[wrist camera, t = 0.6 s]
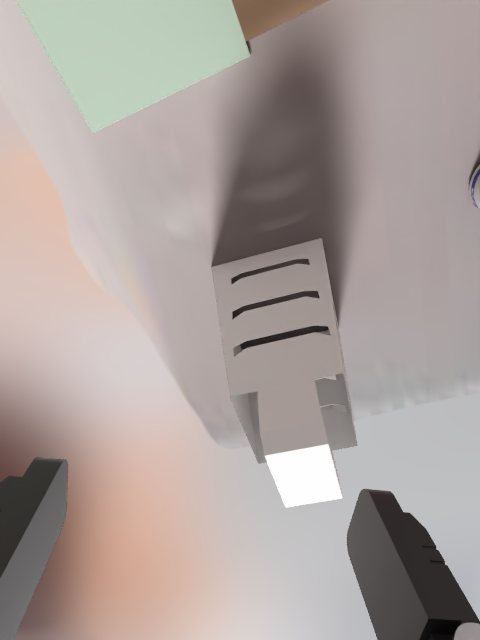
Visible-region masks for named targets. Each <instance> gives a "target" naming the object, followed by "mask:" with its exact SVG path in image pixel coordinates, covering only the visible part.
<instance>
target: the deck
mask: <svg viewBox="0 0 480 640" xmlns="http://www.w3.org/2000/svg"><path fill="white" fill-rule="evenodd" d="M327 1H329V0H232V3H233V6H234V9H235V12H236V15H237V18H238V21H239V23H240V26H241V29H242V32H243V35H244V38H245V41H248V40H250V39H252V38H254V37H256V36H258V35H260V34H262V33H264V32H266V31H268V30H270V29H272V28H274V27H276V26H278V25H280V24H282V23H284V22H286V21H288V20H290V19H292V18H294V17H296V16H298V15H300V14H302V13H304V12H306V11H308V10H310V9H312V8H314V7H316V6H318V5H321V4H323V3H325V2H327Z"/></svg>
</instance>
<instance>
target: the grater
mask: <svg viewBox="0 0 480 640" xmlns="http://www.w3.org/2000/svg"><path fill="white" fill-rule="evenodd" d="M295 259H308V260H309V263H310V265H306V264H294V265H290V266H286V267H282V268H278V269H274V270H270V271H267V272H263V273H259V274H256V275H252V276H248V277H244V278H241V279H239V280H238V281H236V282H235V283H233V284H232V285H231V278H233V277H235V276H237V275H239V274H241V273H245V272H248V271H252V270H256V269H260V268H264V267H268V266H272V265H276V264H280V263H283V262H287V261H291V260H295ZM211 269H212V276H213V283H214V289H215V296H216V303H217V310H218V317H219V324H220V331H221V338H222V345H223V352H224V359H225V366H226V373H227V380H228V387H229V394H230V398H231V401H232V403H233V405H234V408H235V410H236V412H237V415H238V417H239V419H240V422H241V424H242V426H243V429H244V431H245V433H246V436H247V438H248V440H249V443H250V445H251V447H252V450H253V452H254V454H255V457H256V459H257V461H258V463H265V462H267V463H268V466H269V468H270V471H271V473H272V476H273V478H274V481H275V483H276V485H277V488H278V490H279V493H280V495H281V498H282V500H283V502H284V505H285V507H292V506H298V505H304V504H310V503H316V502H323V501H329V500H335V499H341V498H342V493H341V488H340V484H339V479H338V475H337V470H336V466H335V461H334V457H333V453H332V450H337V449H342V448H348V447H353V446H357V440H356V434H355V427H354V421H353V415H352V409H351V402H350V396H349V390H348V384H347V377H346V371H345V365H344V359H343V352H342V346H341V340H340V334H339V328H337V327H336V325H337V324H338V322H337V317H336V316H335V314H336V312H335V308H334V307H335V306H334V307H333V305H334V301H333V299H332V295H331V291H332V290H331V285H330V282H329V280H330V279H329V274H328V269H327V263H326V258H325V253H324V247H323V242H322V238H320V239H316V240H312V241H308V242H305V243H301V244H297V245H293V246H289V247H285V248H282V249H278V250H274V251H270V252H266V253H263V254H259V255H255V256H251V257H247V258H244V259H240V260H236V261H232V262H228V263H225V264H221V265H217V266H213V267H211ZM303 291H318V294H319V297H320V299H319V298H313V297H307V296H306V297H301V298H297V299H293V300H289V301H285V302H281V303H277V304H273V305H268V306H264V307H260V308H256V309H252V310H248V311H244V312H242V313H241V314H240V315H238V316H237V317H236V318H234V319H233V320H232V312H233V311H235V310H237V309H239V308H241V307H242V306H245V305H249V304H253V303H258V302H262V301H266V300H270V299H274V298H278V297H282V296H286V295H290V294H294V293H299V292H303ZM334 313H335V314H334ZM335 317H336V318H335ZM336 322H337V324H336ZM310 326H328V328H329V330H327V331H322V332H318V333H316V332H314V333H310V334H305V335H301V336H296V337H292V338H288V339H283V340H279V341H275V342H270V343H266V344H261V345H257V346H253V347H248V348H246V349H243V350H242V349H241V346H240V344H242V343H244V342H245V341H249V340H253V339H258V338H262V337H266V336H271V335H275V334H279V333H284V332H288V331H292V330H297V329H301V328H305V327H310ZM332 375H336V379H337V380H331V379H326V378H323V379H319V380H314V379H317V378H322V377H327V376H332ZM328 404H340V405H329V406H324V407H320V406H323V405H328Z"/></svg>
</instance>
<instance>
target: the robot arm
mask: <svg viewBox="0 0 480 640" xmlns="http://www.w3.org/2000/svg"><path fill="white" fill-rule="evenodd" d="M67 481H68V462H67V460H64V459H53V458H43V457H36V458H35V459H34V460H33V462H32V463H31V465H30V466H29V468H28V469H27V471H26V472H25V474H24V476H23V477H14V476H8V477H7V478H6V479H4V480H3V481H2V482H0V640H14V637H15V635H16V633H17V631H18V628H19V626H20V624H21V621H22V619H23V617H24V615H25V612H26V610H27V608H28V605H29V603H30V601H31V599H32V596H33V594H34V592H35V589H36V587H37V585H38V582H39V580H40V578H41V576H42V573H43V571H44V569H45V566H46V564H47V562H48V560H49V557H50V555H51V553H52V550H53V548H54V546H55V544H56V541H57V539H58V537H59V534H60V532H61V529H62V526H63V523H64V519H65V515H66V508H67ZM347 547H348V554H349V557H350V560H351V563H352V565H353V569H354V572H355V574H356V578H357V580H358V583H359V586H360V589H361V592H362V595H363V598H364V601H365V604H366V607H367V610H368V613H369V616H370V619H371V621H372V624H373V627H374V630H375V633H376V636H377V639H378V640H480V621H479V619H478V618H477V616H476V614H475V612H474V611H473V609H472V607H471V605H470V604H469V602H468V600H467V599H466V597H465V595H464V593H463V592H462V590H461V588H460V587H459V585H458V583H457V582H456V580H455V578H454V576H453V575H452V573H451V571H450V570H449V568H448V566H447V565H445V561H444V559H443V557H442V556H441V554H440V552H439V551H438V550H436V545H435V544H434V542H433V540H432V539H431V537H430V535H429V533H428V532H427V530H426V529H425V528H424V527H423V526H422V525H421V524H420V523H419V522H418V521H417V520H416V519H415V518H414V517H413V516H412V515H411V514H410V513H404V512H403V511H402V509H401V507H400V505H399V504H398V502H397V500H396V498H395V496H394V495H393V494H392V493H391V492H390V491H380V490H370V489H363V490H362V491H361V492H360V494H359V497H358V501H357V503H356V506H355V510H354V513H353V516H352V519H351V522H350V526H349V529H348V534H347Z"/></svg>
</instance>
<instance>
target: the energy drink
mask: <svg viewBox="0 0 480 640" xmlns="http://www.w3.org/2000/svg"><path fill="white" fill-rule="evenodd" d="M469 195H470V198H471V201H472V202H473V204H474V205H475V206H476V207H477V208H479V209H480V164H479V166H478V167H477V168H476V170H475V172H474V174H473V175H472V178H471V181H470V185H469Z"/></svg>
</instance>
